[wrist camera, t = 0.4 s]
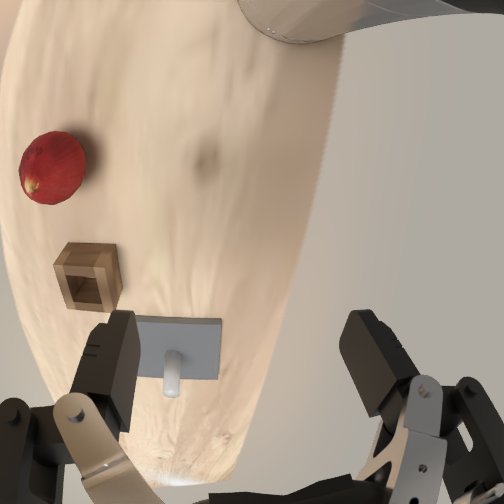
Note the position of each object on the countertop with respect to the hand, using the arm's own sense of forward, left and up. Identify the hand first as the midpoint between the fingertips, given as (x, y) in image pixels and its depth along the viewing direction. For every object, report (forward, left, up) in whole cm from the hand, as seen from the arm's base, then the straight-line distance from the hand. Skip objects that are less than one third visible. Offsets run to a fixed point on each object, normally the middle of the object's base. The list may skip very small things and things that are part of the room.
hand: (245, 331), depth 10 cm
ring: (+10, -13, -17) cm, 24 cm away
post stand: (+23, -5, -17) cm, 29 cm away
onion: (-2, -14, -18) cm, 23 cm away
